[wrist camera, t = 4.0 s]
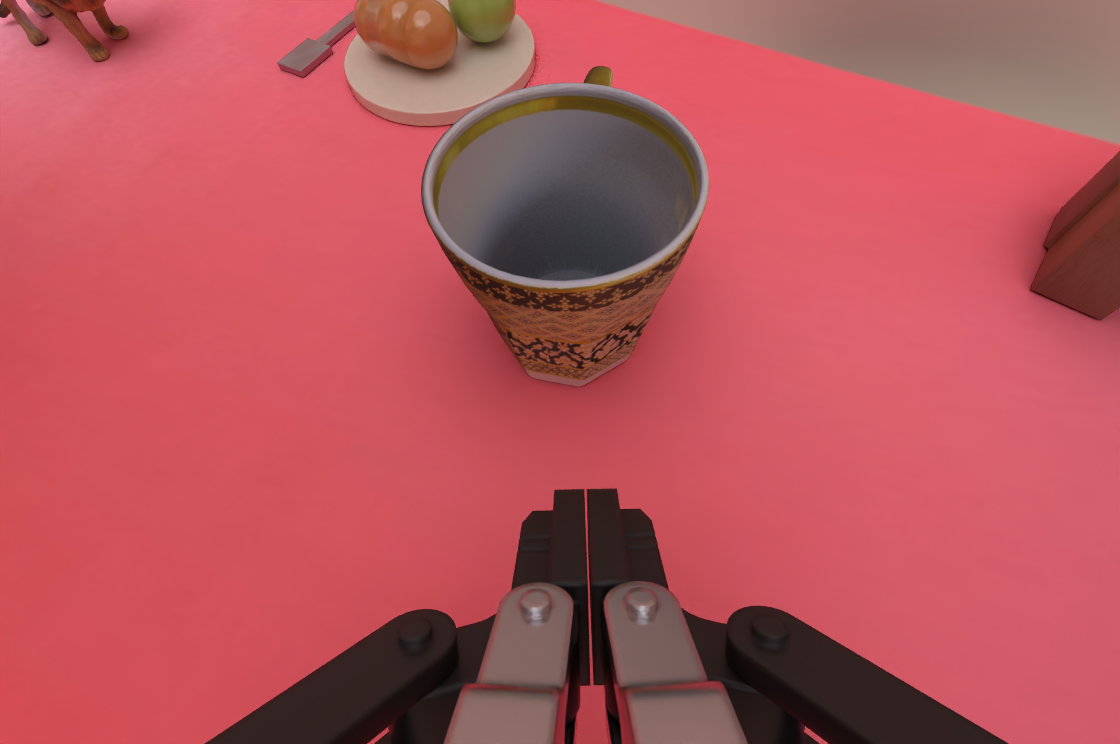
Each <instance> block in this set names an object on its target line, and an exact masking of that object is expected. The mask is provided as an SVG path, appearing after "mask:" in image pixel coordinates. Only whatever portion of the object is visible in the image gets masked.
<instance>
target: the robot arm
mask: <svg viewBox="0 0 1120 744" xmlns="http://www.w3.org/2000/svg"><path fill="white" fill-rule="evenodd" d="M587 517H588V557H589V584H590V608H591V633H592V657H593V681H594V685H604V688H605V710H606V730H607V737H608V743H609V744H819V743H818V742H817V741H815V740H814V739H813V738H811V737H810V736H809V735H807V734H806V733H805V732H804V729H805V726H806V727H807V728H809V729H810V730H811V731H813V732H814V733H815V734H817V735H818V736H819V737H821V738H822V739H823V740H825V741H826V742H827V743H829V744H1008V743H1007V742H1005V741H1003V740H1002V739H1000V738H998V737H996V736H995V735H993V734H991V733H990V732H988V731H986V730H985V729H983V728H981V727H980V726H978V725H976V724H975V723H973V722H971V721H969V720H968V719H966V718H964V717H963V716H961V715H959V714H958V713H956V712H954V711H953V710H951V709H949V708H947V707H946V706H944V705H942V704H941V703H939V702H937V701H936V700H934V699H932V698H931V697H929V696H927V695H926V694H924V693H922V692H920V691H919V690H917V689H915V688H914V687H912V686H910V685H909V684H907V683H905V682H904V681H902V680H900V679H899V678H897V677H895V676H893V675H892V674H890V673H888V672H887V671H885V670H883V669H882V668H880V667H878V666H877V665H875V664H873V663H871V662H870V661H868V660H866V659H865V658H863V657H861V656H860V655H858V654H856V653H855V652H853V651H851V650H850V649H848V648H846V647H844V646H843V645H841V644H839V643H838V642H836V641H834V640H833V639H831V638H829V637H828V636H826V635H824V634H823V633H821V632H819V631H817V630H816V629H814V628H812V627H811V626H809V625H807V624H806V623H804V622H802V621H801V620H799V619H797V618H795V617H794V616H792V615H790V614H788V613H786V612H784V611H781V610H779V609H775V608H772V607H766V606H749V607H744V608H742V609H739V610H737V611H735V612H734V613H733V614H732V615H731V616H730V618H729V619H728V622H727V624H723V623H719V622H714V621H710V620H706V619H702V618H699V617H697V616H694V615H692V614H690V613H688V612H687V611H685V610H684V609H682V608H681V607H680V604H679V602H678V600H677V598H676V597H675V595H674V594H673V593H672V592H670V591H669V589H668V585H667V581H666V577H665V573H664V569H663V565H662V560H661V556H660V552H659V548H658V544H657V540H656V537H655V532H654V528H653V524H652V520H651V519H650V518H649V517H648V516H647V515H646V514H645V513H644V512H643V511H642V510H641V509H620V506H619V500H618V493H617V489H587ZM580 686H590V658H589V618H588V580H587V552H586V525H585V497H584V489H572V490H555V491H554V505H553V511H532V513H531V514H530V515H529V516H528V517H527V518H526V519H525V520H524V522H523V523H522V527H521V533H520V539H519V546H518V552H517V558H516V564H515V570H514V576H513V582H512V588H511V591H510V592H508V593H507V594H506V595H505V596H504V597H503V598H502V600H501V602H500V604H499V607H498V610H497V613H496V614H495V615H493V616H491V617H490V618H488V619H485V620H483V621H481V622H477V623H474V624H470V625H466V626H462V627H459V628H456V625H455V623H454V621H453V620H452V618H451V617H450V616H448V615H447V614H445V613H443V612H441V611H438V610H432V609H421V610H415V611H410V612H407V613H404V614H402V615H400V616H398V617H396V618H394V619H393V620H391V621H389V622H388V623H386V624H385V625H383V626H382V627H380V628H379V629H377V630H376V631H374V632H373V633H371V634H370V635H368V636H367V637H365V638H364V639H362V640H361V641H359V642H358V643H356V644H355V645H353V646H352V647H350V648H349V649H347V650H346V651H344V652H343V653H341V654H340V655H338V656H337V657H335V658H334V659H332V660H330V661H329V662H327V663H326V664H324V665H323V666H321V667H320V668H318V669H317V670H315V671H314V672H312V673H311V674H309V675H308V676H306V677H305V678H303V679H302V680H300V681H299V682H297V683H296V684H294V685H293V686H291V687H290V688H288V689H287V690H285V691H284V692H282V693H281V694H279V695H278V696H276V697H275V698H273V699H272V700H270V701H268V702H267V703H265V704H264V705H262V706H261V707H259V708H258V709H256V710H255V711H253V712H252V713H250V714H249V715H247V716H246V717H244V718H243V719H241V720H240V721H238V722H237V723H235V724H234V725H232V726H231V727H229V728H228V729H226V730H225V731H223V732H222V733H220V734H219V735H217V736H216V737H214V738H213V739H211V740H210V741H208V742H206V743H205V744H367V743H369V742H370V741H371V740H372V739H373V738H375V737H376V736H377V735H378V734H380V733H381V732H382V731H383V730H384V729H386V728H387V727H388V729H389V732H388V733H387V734H385V735H384V736H383V737H382V738H381V739H379V740H378V741H377V742H376V743H375V744H576V737H577V712H578V710H579V707H580Z"/></svg>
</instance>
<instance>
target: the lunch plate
mask: <svg viewBox="0 0 1120 744" xmlns="http://www.w3.org/2000/svg"><path fill="white" fill-rule="evenodd" d="M515 9H516V4H515V0H357V2H356V4H355V8H354V22H355V26H356V29H357V32H358V34H357V35H356V36H355V38H354V39H353V40H352V42H351V44H350V45H349V47H348V49H347V52H346V55H345V60H344V71H345V74H346V78H347V81H348V83H349V86H350V88H351V90H352V92H353V94H354V96H355V97H356V99H357V100H358V101H359V102H360V104H362V105H363V106H364V107H365V108H366V109H367V110H369V111H371V112H372V113H374V114H375V115H377V116H380V117H382V118H384V119H387V120H390V121H393V122H396V123H401V124H407V125H415V126H440V125H449V124H454V123H455V122H456V121H458V120H459V119H460V118H461V117H463V116H464V115H466V114H467V113H468V112H470V111H471V110H473V109H475V108H476V107H478V106H480V105H482V104H483V103H485V102H487V101H490V100H492V99H494V98H496V97H498V96H501V95H504V94H507V93H510V92H512V91H515V90H519V89H523V88H524V87H525V85H526V84H527V83H528V81H529V79H530V77H531V75H532V73H533V70H534V67H535V60H536V57H535V45H534V38H533V35H532V32H531V30H530V28H529V27H528V25H527V24H526V23H525V21H524V20H523V19H522V18H521V17H520V16H518V15H517V14H516V13H515Z"/></svg>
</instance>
